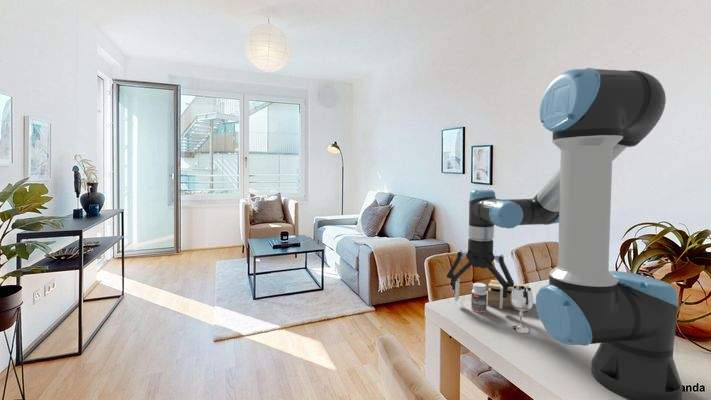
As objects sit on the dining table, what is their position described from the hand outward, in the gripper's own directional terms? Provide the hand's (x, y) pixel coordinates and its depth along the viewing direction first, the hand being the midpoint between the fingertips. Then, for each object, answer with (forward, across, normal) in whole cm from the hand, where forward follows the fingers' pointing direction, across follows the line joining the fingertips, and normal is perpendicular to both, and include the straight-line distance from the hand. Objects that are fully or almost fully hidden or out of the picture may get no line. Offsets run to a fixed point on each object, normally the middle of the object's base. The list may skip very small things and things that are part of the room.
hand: (478, 303), depth 113 cm
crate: (+2, -8, -10) cm, 13 cm away
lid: (-3, -8, -10) cm, 13 cm away
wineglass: (+2, -13, +9) cm, 16 cm away
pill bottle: (+2, 0, 0) cm, 2 cm away
